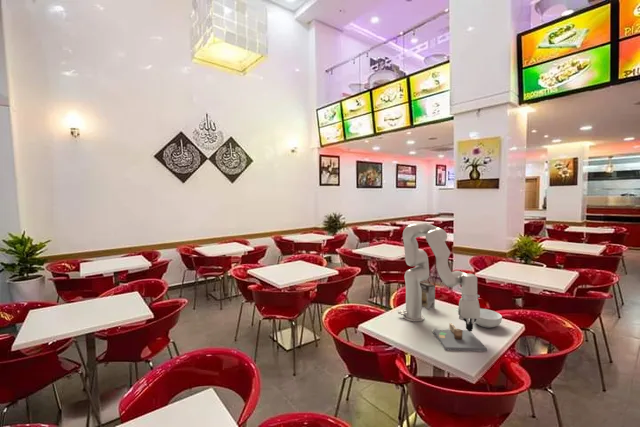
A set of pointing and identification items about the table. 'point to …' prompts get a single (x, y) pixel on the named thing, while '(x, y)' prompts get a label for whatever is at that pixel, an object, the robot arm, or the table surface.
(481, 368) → the table surface
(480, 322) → the cereal bowl
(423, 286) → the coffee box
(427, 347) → the table surface
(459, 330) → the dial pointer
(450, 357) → the table surface
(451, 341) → the grey flat square slab
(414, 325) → the table surface
